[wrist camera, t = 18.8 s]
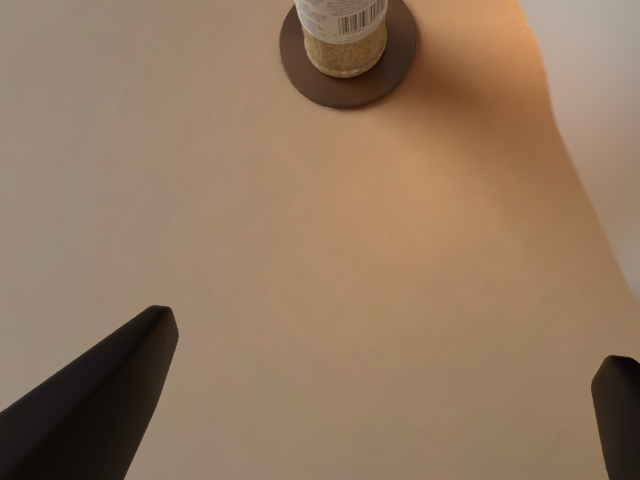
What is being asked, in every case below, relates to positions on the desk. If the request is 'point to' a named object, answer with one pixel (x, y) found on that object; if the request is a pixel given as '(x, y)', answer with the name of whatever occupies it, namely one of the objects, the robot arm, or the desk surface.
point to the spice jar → (343, 34)
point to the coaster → (357, 87)
